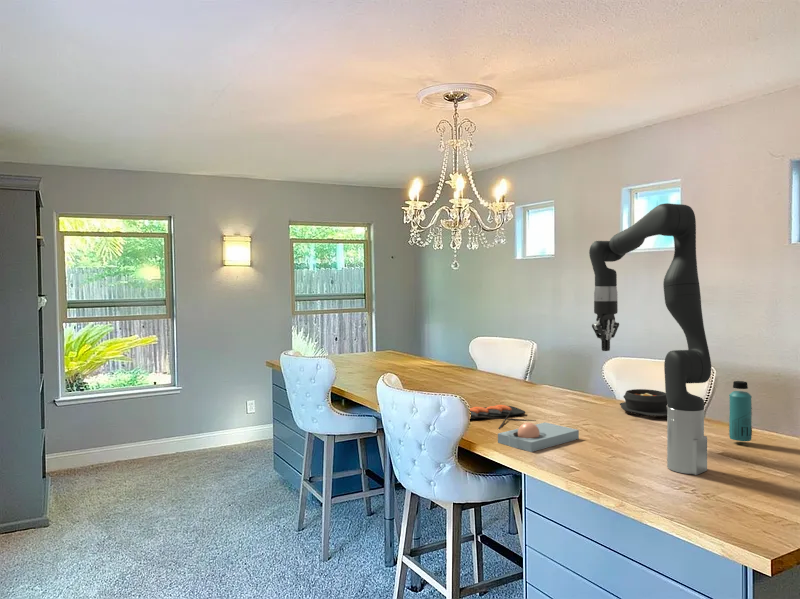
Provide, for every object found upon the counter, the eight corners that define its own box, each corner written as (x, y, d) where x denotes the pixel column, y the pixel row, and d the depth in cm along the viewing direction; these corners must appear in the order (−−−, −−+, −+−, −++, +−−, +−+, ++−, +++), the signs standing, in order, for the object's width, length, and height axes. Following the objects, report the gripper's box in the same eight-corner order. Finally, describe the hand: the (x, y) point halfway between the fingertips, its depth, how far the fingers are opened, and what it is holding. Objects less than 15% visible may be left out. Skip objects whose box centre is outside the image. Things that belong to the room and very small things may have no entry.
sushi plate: (510, 409, 246) (510, 400, 245) (550, 426, 217) (550, 415, 217) (445, 415, 236) (445, 405, 236) (478, 433, 208) (478, 422, 208)
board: (578, 438, 197) (578, 429, 197) (530, 452, 182) (530, 442, 182) (545, 430, 208) (545, 422, 208) (497, 442, 194) (497, 433, 193)
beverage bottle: (740, 446, 185) (740, 383, 185) (723, 441, 192) (723, 380, 191) (757, 445, 187) (757, 382, 187) (740, 439, 194) (740, 379, 193)
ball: (540, 423, 188) (525, 437, 186) (546, 437, 191) (532, 452, 189) (524, 414, 194) (510, 429, 191) (531, 429, 197) (517, 443, 195)
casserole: (687, 419, 223) (687, 397, 222) (641, 421, 220) (641, 399, 220) (650, 406, 247) (650, 386, 247) (608, 407, 245) (608, 387, 244)
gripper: (604, 300, 193) (604, 353, 193) (626, 299, 201) (626, 350, 201) (584, 300, 199) (584, 351, 199) (607, 299, 207) (607, 348, 207)
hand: (605, 350), depth 200 cm, fingers closed
